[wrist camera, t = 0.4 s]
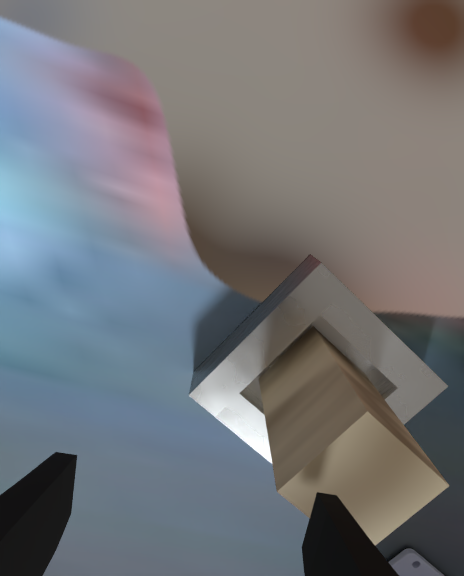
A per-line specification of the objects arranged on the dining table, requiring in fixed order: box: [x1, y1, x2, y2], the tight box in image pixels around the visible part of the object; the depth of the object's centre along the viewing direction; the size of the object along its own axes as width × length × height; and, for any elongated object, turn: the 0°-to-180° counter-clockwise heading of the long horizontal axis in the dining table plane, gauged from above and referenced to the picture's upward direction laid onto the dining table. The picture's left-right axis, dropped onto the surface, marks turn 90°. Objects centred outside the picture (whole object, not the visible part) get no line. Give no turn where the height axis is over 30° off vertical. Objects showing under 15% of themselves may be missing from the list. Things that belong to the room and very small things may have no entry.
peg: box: [259, 326, 449, 545], centre depth 17 cm, size 4×4×8 cm
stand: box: [189, 255, 448, 463], centre depth 20 cm, size 9×9×2 cm
